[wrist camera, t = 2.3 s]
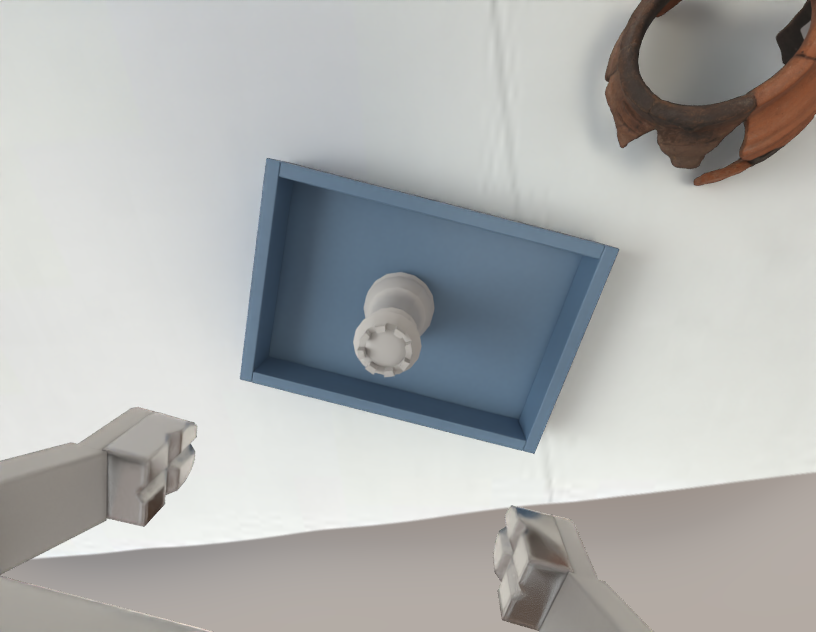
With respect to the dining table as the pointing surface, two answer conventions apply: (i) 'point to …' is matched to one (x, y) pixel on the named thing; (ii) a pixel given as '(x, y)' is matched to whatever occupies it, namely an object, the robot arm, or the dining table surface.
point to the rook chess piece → (393, 323)
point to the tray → (452, 294)
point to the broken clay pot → (709, 124)
